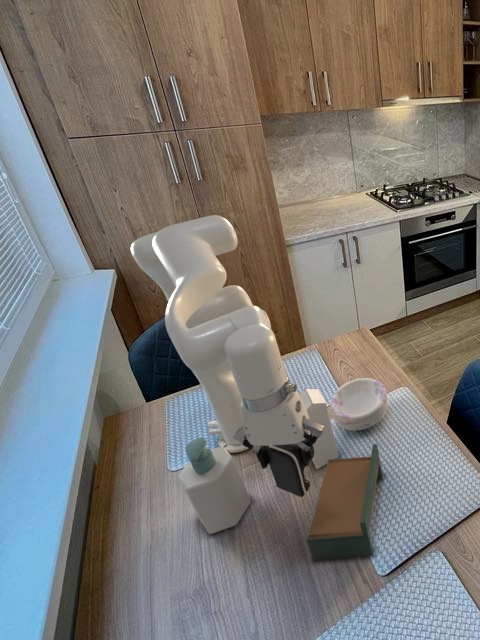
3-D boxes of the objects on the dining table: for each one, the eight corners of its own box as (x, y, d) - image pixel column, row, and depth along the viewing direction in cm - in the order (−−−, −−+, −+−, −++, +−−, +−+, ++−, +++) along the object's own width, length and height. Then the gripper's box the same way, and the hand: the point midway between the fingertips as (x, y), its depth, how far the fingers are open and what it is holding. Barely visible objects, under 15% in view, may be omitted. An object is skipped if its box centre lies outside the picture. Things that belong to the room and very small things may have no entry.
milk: (316, 470, 101) (297, 405, 92) (308, 453, 106) (289, 390, 96) (339, 456, 104) (323, 393, 95) (331, 441, 109) (315, 378, 99)
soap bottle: (196, 540, 87) (160, 472, 77) (204, 501, 95) (171, 435, 85) (249, 521, 90) (220, 453, 81) (252, 485, 98) (226, 420, 88)
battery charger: (316, 482, 82) (305, 442, 77) (303, 499, 78) (291, 459, 73) (289, 471, 84) (277, 432, 79) (275, 487, 81) (262, 447, 76)
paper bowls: (400, 413, 117) (397, 393, 113) (355, 448, 106) (351, 427, 103) (368, 389, 126) (364, 369, 122) (324, 419, 116) (319, 398, 112)
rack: (313, 560, 83) (302, 527, 78) (333, 479, 99) (325, 447, 94) (372, 555, 83) (365, 522, 78) (382, 475, 99) (377, 443, 95)
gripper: (322, 374, 74) (338, 441, 82) (226, 379, 74) (251, 446, 81) (309, 405, 67) (328, 475, 75) (203, 411, 67) (233, 481, 74)
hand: (288, 460), depth 78 cm, fingers closed on battery charger, 7 cm apart
